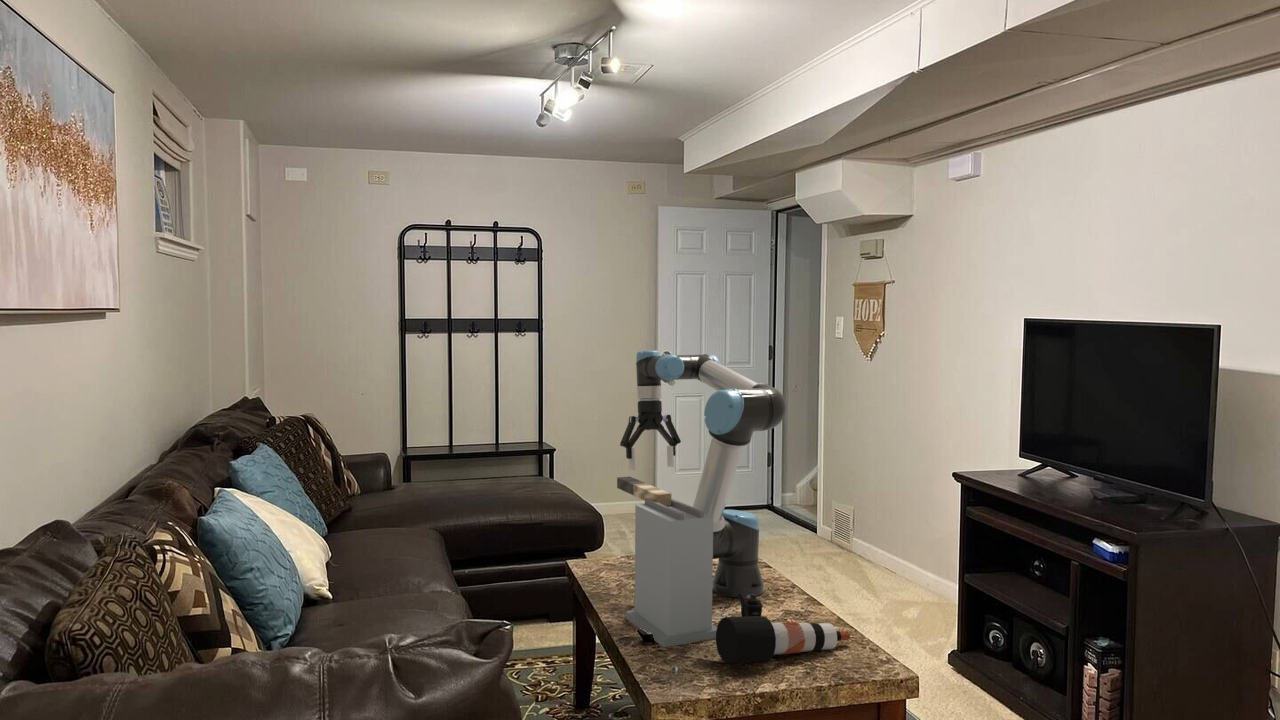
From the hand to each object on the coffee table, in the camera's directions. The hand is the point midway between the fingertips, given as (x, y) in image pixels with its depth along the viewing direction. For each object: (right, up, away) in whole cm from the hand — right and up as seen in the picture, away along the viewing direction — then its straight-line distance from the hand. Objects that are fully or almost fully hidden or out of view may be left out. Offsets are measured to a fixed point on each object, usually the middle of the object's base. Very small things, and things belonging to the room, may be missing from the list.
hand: (651, 468), depth 271 cm
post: (+5, -35, -47) cm, 59 cm away
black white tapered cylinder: (+32, -37, -64) cm, 80 cm away
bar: (-3, -4, -33) cm, 33 cm away
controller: (+25, -36, -47) cm, 64 cm away
